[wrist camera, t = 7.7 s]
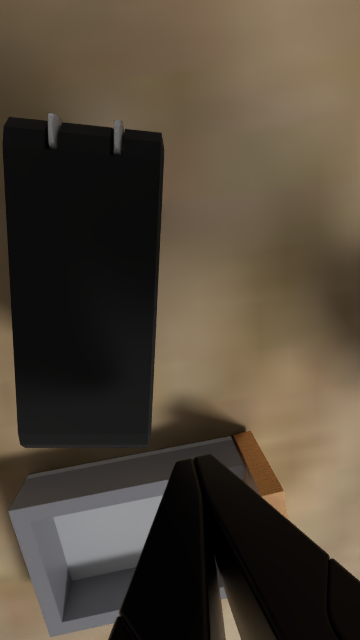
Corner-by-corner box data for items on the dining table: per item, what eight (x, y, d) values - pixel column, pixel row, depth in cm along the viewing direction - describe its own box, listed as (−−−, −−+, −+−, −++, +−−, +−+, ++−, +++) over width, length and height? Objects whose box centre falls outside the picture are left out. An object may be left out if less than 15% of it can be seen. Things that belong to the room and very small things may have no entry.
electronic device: (83, 355, 19) (16, 460, 10) (83, 186, 17) (-4, 102, 8) (150, 357, 20) (150, 459, 10) (157, 192, 18) (166, 121, 8)
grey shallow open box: (230, 436, 22) (243, 464, 19) (245, 549, 24) (258, 590, 21) (28, 475, 21) (8, 511, 18) (63, 588, 23) (50, 637, 20)
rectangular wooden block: (272, 555, 24) (308, 643, 18) (252, 560, 24) (282, 650, 18) (253, 430, 21) (287, 490, 16) (230, 435, 21) (257, 497, 16)
